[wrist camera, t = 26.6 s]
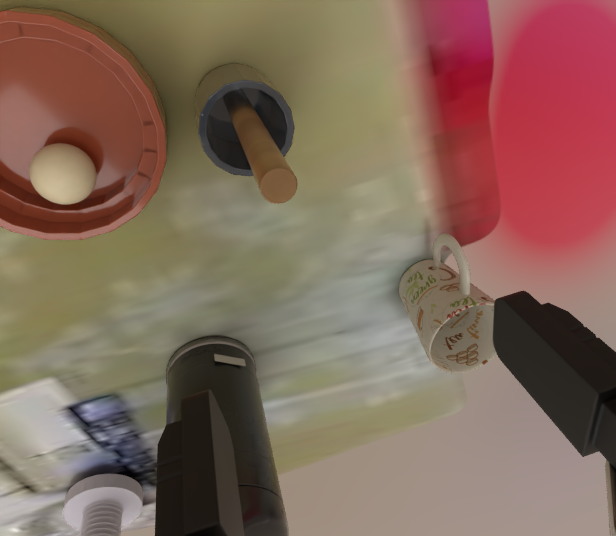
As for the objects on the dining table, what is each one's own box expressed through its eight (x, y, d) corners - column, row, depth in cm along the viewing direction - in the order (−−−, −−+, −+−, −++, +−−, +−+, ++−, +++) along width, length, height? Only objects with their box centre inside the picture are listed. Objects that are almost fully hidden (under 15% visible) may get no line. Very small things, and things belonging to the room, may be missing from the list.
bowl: (192, 188, 40) (194, 208, 37) (11, 237, 39) (-5, 263, 35) (119, -16, 32) (113, -15, 28) (-116, 37, 30) (-153, 46, 27)
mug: (389, 320, 54) (429, 383, 45) (384, 224, 47) (429, 278, 39) (456, 302, 55) (507, 360, 46) (461, 205, 48) (521, 253, 40)
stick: (251, 105, 37) (304, 192, 23) (231, 116, 37) (270, 210, 23) (240, 84, 36) (287, 160, 21) (220, 95, 36) (252, 179, 22)
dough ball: (77, 163, 32) (33, 208, 32) (119, 182, 36) (80, 222, 36) (45, 121, 33) (4, 164, 33) (90, 144, 37) (52, 183, 37)
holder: (283, 135, 40) (301, 162, 34) (209, 155, 39) (215, 186, 33) (265, 54, 36) (282, 69, 30) (183, 74, 35) (185, 94, 30)
